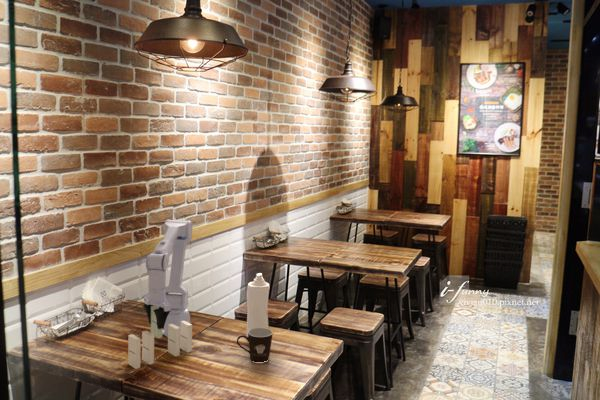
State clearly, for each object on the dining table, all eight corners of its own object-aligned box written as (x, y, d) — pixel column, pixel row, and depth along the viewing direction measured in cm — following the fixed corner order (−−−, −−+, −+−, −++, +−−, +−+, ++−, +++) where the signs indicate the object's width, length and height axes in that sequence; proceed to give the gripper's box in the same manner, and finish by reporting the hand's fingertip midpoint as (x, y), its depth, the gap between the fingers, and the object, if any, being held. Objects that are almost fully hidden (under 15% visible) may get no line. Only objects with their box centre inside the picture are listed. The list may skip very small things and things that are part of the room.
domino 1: (132, 362, 173) (132, 334, 172) (140, 367, 170) (140, 338, 168) (128, 364, 172) (128, 335, 171) (135, 369, 168) (135, 339, 167)
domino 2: (146, 358, 177) (146, 330, 175) (153, 363, 173) (154, 334, 172) (141, 359, 175) (142, 331, 174) (149, 364, 172) (149, 336, 171)
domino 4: (171, 350, 184) (172, 323, 183) (179, 355, 180) (180, 327, 179) (167, 351, 183) (168, 324, 181) (175, 356, 179) (175, 328, 178)
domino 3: (154, 332, 181) (155, 305, 180) (162, 337, 178) (162, 309, 177) (150, 333, 180) (150, 306, 179) (158, 338, 177) (158, 310, 175)
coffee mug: (275, 357, 182) (276, 330, 181) (266, 367, 174) (267, 338, 173) (245, 351, 186) (246, 324, 185) (234, 360, 178) (235, 333, 177)
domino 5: (183, 347, 187) (184, 320, 186) (191, 351, 184) (192, 324, 183) (179, 348, 186) (180, 321, 185) (187, 352, 183) (188, 325, 182)
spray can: (236, 337, 198) (238, 274, 195) (255, 330, 207) (257, 269, 204) (259, 345, 191) (261, 280, 188) (277, 337, 200) (279, 275, 197)
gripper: (135, 285, 179) (135, 322, 181) (157, 295, 169) (157, 334, 171) (154, 281, 184) (153, 318, 186) (176, 291, 174) (175, 329, 176)
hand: (156, 325), depth 179 cm, fingers closed on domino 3, 5 cm apart
